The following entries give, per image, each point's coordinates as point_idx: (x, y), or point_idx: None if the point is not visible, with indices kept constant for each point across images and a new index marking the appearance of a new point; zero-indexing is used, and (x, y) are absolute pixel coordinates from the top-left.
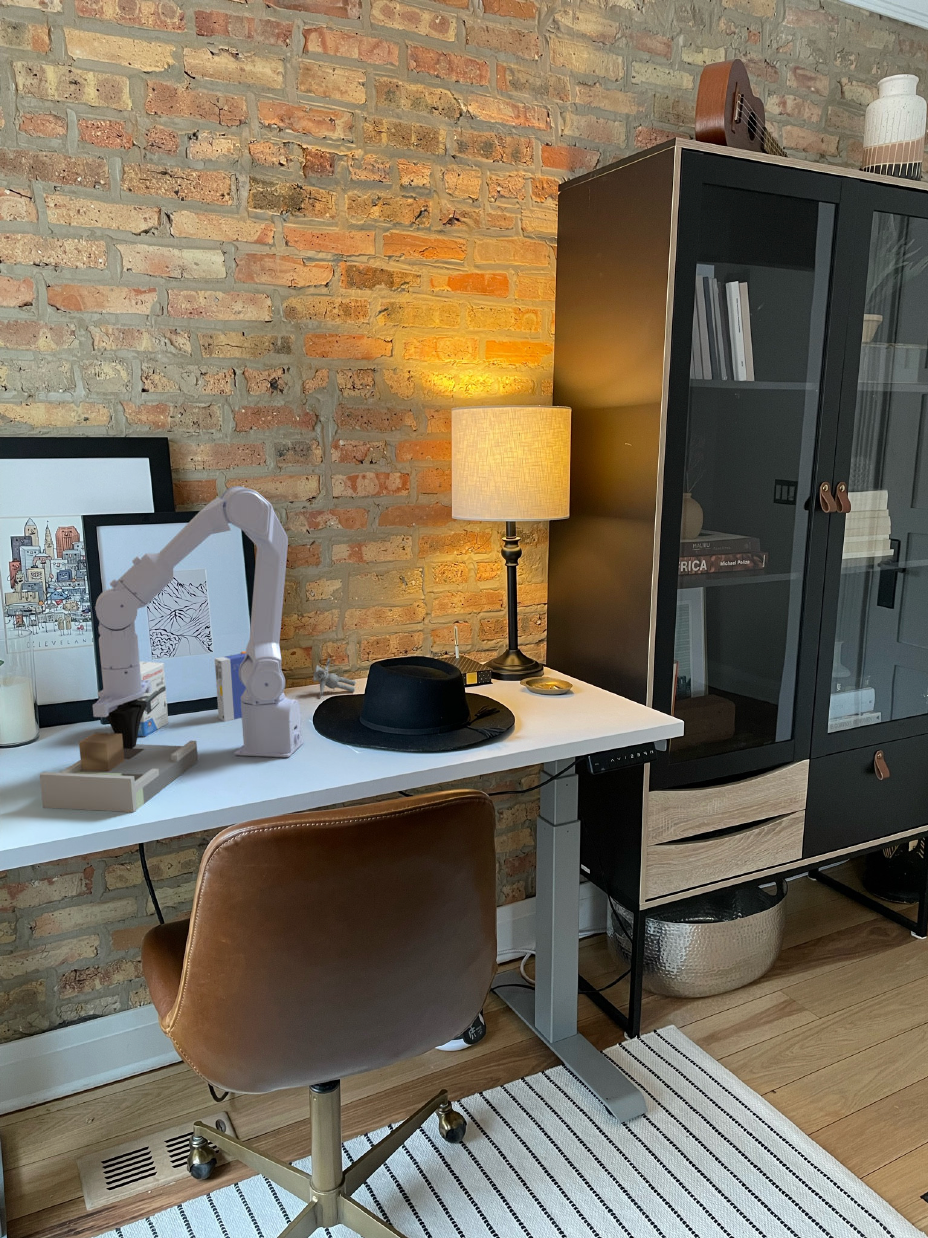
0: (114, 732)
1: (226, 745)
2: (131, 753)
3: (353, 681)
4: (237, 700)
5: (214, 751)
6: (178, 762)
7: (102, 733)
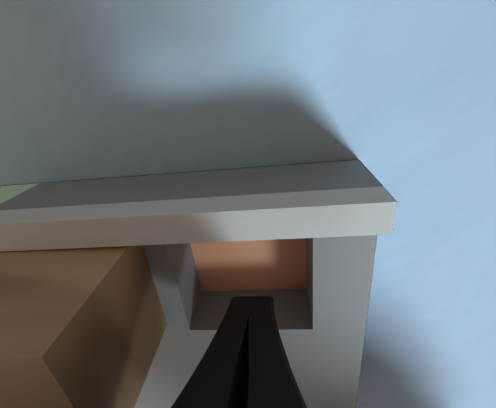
0: (192, 374)
1: (484, 401)
2: (310, 265)
3: None
4: None
5: (429, 392)
6: None
7: (52, 399)
